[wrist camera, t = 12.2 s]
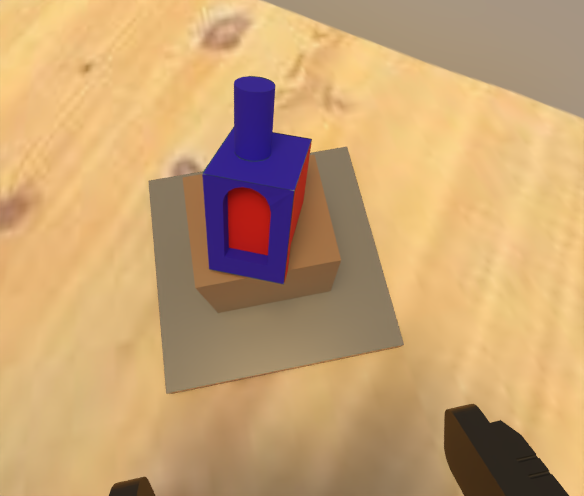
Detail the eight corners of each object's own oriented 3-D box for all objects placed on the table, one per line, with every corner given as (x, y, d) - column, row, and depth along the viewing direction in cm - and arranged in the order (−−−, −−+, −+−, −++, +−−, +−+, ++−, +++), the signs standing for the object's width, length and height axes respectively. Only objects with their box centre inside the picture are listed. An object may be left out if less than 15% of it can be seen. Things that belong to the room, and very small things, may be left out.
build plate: (171, 393, 24) (124, 392, 17) (153, 187, 29) (111, 125, 22) (399, 346, 25) (437, 328, 18) (345, 154, 29) (359, 84, 23)
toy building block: (299, 228, 22) (320, 75, 16) (283, 285, 18) (302, 119, 13) (235, 215, 22) (234, 61, 16) (208, 269, 19) (196, 101, 13)
